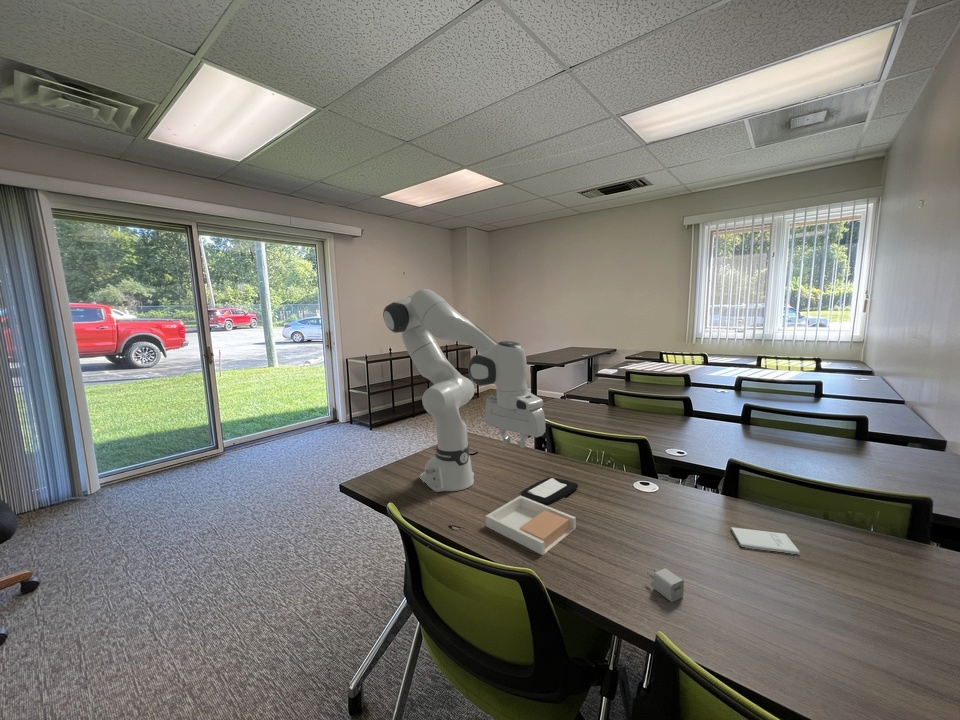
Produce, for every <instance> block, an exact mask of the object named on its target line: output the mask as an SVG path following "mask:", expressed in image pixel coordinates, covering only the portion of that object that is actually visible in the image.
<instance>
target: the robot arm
mask: <svg viewBox="0 0 960 720" xmlns="http://www.w3.org/2000/svg"><path fill="white" fill-rule="evenodd" d="M382 315H383V316H382V317H383V320H384V323H385V325H386V327H387V329H388V330H390V331H391V332H392V333H401V338H402V341H403V344H404V347H405V348H406V351H407V353H408V355H409V357H410V359H411V360H412V362H413V364H414V366H415V367H416V369H417V371H418V373H419V374H420V375H421V376H422V377H423V378H426V379H427V380H429V381H430V382H431V383H432V384H433V385H431V386H430V387H429V388H428V389H426V390H425V391H424V393H423V394H422V397H421V399H422V400H421V401H422V406H423V409H424V410H425V411H426V412H427V413H428V414H429V415H431V417H432V419H433V421H434V425H435V429H436V437H437V438H436V439H437V445H436V446H434V447H433V451H435V454H434V456H432V457H431V458H430V459H429V460H428V461H427V462H425V466H424V471H423V472H422V473H420V474H419V476H418V479H419V478H420V479H421V480H422V481H421V480H420V479H419V480H420V481H421V482H422V483H424V482H425V483H426V484H427V485H426V484H425V483H424V484H425V485H426V486H428V487H429V488H430V489H431V490H432V491H433V492H436V493H437V492H438V493H440V492H456V491H457V492H458V491H461V490H465V489H467V488H470V487H472V485H474V483H475V479H474V476H475V472H474V471H473V466H472V459H471V457H470V444H469V443H468V427H467V423H466V422H465V421H464V420H462V418H461V415H460V407H462V406H465V405H467V404H468V403H469V402H470V401H471V400H472V398H473V397H474V395H475V385H474V384H476V385H477V386H483V387H484V386H490V385H495V386H496V388H495V389H496V395H494V394H490V395H488V396H487V397H486V399H485V409H484V423H485V424H486V426H488V427H494V428H498V429H499V433H500V436H501V438H502V443H503V444H505V445H509V444H511V436H509V435H508V431H510V432H514V433H517V434H519V436H520V437H521V438H520V440H518V441H517V448H520V449H524V448H526V441H527V439H528V438H529V437H533V438H539V437H542V436H544V434H545V433H546V416H545V415H546V414H545V412H544V410H543V409H542V407H543V406H544V400H543V399H542V398H541V397H539V396H537V395H535V394H533V393H532V392H530V391H528V390H529V389H528V387H529V386H528V384H527V374H528V363H527V356H526V351H525V347H524V345H522V344H520V343H519V342H517V341H516V342H515V341H508V340H504V341H503V340H502V341H499V342H498V341H497V340H495V339H494V338H493V337H492V336H491V335H489V334H488V333H486V331H484V330H483V329H481V328H480V327H479V326H478V325H477V324H475V323H474V322H473V321H471V320H469V319H468V318H466V317H465V316H463V315H462V314H461V313H460V312H458V311H457V310H456V309H455V308H454V307H453V306H451V305H450V304H449V302H448V301H446V300H445V299H444V298H443V297H442V296H441V295H439V294H437V292H435V291H433V290H431V289H429V288H420V289H418V290H416V291H415V292H413V294H412V295H409V296H407V297H404V298H402V299H400V300H399V299H398V300H397V301H394V302H391V303H389V304H388V305H386V306H385V307H384V309H383V312H382ZM435 338H437V339H438V340H441V341H451V342H457V343H458V342H459V343H464V344H467V345H470V346H471V347H472V348H473V349H475V350H476V351H477V352H478V353H477V354H476V355H473V356H472V357H471V358H470V359H469V363H468V364H467V365H468V366H467V367H468V369H467V371H468V375H469V378H467V376H464V375H463V374H461V373H460V372H459V371H458V370H457V369H456V368H455V367H454V365H452V363H450V361H449V360H448V358H447V357H446V355H445V354H444V352H443V351H442V348H441V347H440V346H439V344H438V343H437V340H436V339H435Z"/></svg>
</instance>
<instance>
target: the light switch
mask: <svg viewBox="0 0 960 720" xmlns="http://www.w3.org/2000/svg"><path fill="white" fill-rule="evenodd" d="M578 487H579V485H578V483H577V482H574V481H571V480H568V479H563V478H559V477H546V478H544V479H542V480H539V481H538V482H535V483H534V484H532V485H530V486H528V487H527V488H525V489H523V490H522V491H520V492H519V493H518V495H519V496H520V495H521V496H523V497H526V498H528V499H531V500H533V501H536V502H538V503H541V504H543V505H546V506H548V507H549V506H550V505H552V504H555V503H556V502H558V501H559V500H562V499H563V498H566V497H567V496H568V495H569V494H572V493H573V492H574V491H575V490H576V489H577V488H578Z"/></svg>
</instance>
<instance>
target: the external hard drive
mask: <svg viewBox="0 0 960 720" xmlns="http://www.w3.org/2000/svg"><path fill="white" fill-rule="evenodd" d="M730 531H732V532H731V533H732V535H733V534H734V535H733V537H734V536H735V537H736V539H737V540H736V539H735V540H736V542H737V541H738V542H737V544H738V543H739V544H740V546H742V547H747V548H755V549H762V550H770V551H778V552H785V553H791V554H790V555H793V554H798V555H797V556H800V555H801V551H800V550H799V549H798V548H797V546H796V545H795V544H794V542H792V540H791V538H790V537H789V536H788V535H787V534H786V533H783V532H782V533H781V532H772V531H765V530H764V531H763V530H756V529H749V528H740V527H732V526H731V527H730ZM735 537H734V538H735ZM739 544H738V545H739ZM740 546H739V547H740ZM747 548H746V549H747ZM762 550H761V551H762ZM770 551H769V552H770ZM785 553H784V554H785Z"/></svg>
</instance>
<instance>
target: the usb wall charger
mask: <svg viewBox="0 0 960 720" xmlns="http://www.w3.org/2000/svg"><path fill="white" fill-rule="evenodd" d="M646 572H647V574H646V575H648V577H650V578H651V579H652V580H653V589H654V590H656V591H657V593H659V594H661V595H662V596H663V597H664V598H666V599H667V600H668V601H670V603H673V602H676V601H677V600H679V599H681V598H683V596H684V593H685V592H684V591H685V587H684V586H685V581H684V580H683V579H681V578H680V577H679V576H677V575H676V574H674V573H673V572H671V571H669V569H667V568H663V569H660V570H657V569H656V568H653V572H654V573H653V574H652V573H650V572H649V571H646Z"/></svg>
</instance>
